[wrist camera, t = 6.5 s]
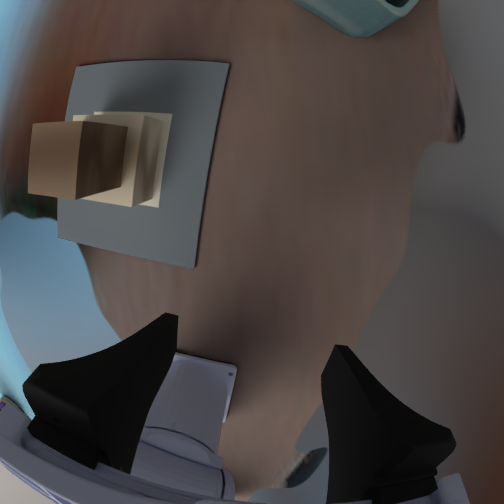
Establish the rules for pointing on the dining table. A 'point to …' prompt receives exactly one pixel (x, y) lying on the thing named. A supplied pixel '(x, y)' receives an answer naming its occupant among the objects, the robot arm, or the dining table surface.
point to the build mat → (168, 162)
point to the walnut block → (75, 158)
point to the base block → (132, 158)
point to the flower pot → (359, 14)
